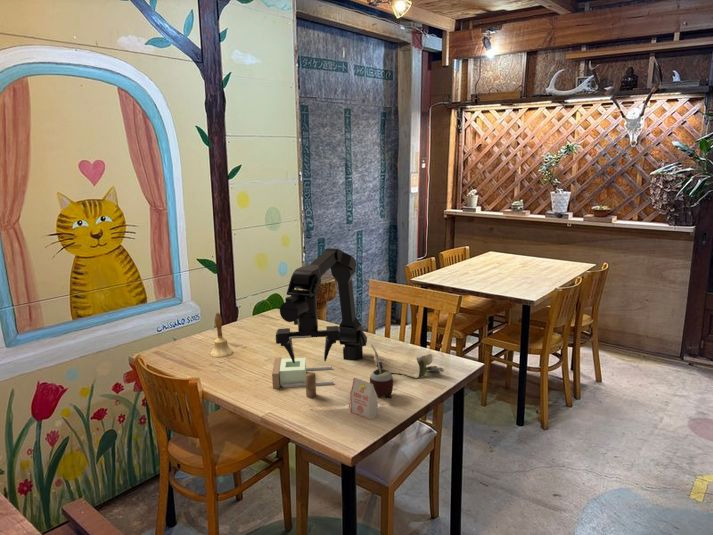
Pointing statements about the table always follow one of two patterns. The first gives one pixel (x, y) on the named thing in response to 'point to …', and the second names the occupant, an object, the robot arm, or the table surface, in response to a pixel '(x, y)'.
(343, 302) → the robot arm
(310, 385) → the walnut peg
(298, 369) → the sliding block
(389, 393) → the mate gourd
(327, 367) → the guide board
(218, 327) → the hand bell
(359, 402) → the tea bag
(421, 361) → the artificial flower
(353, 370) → the table surface
